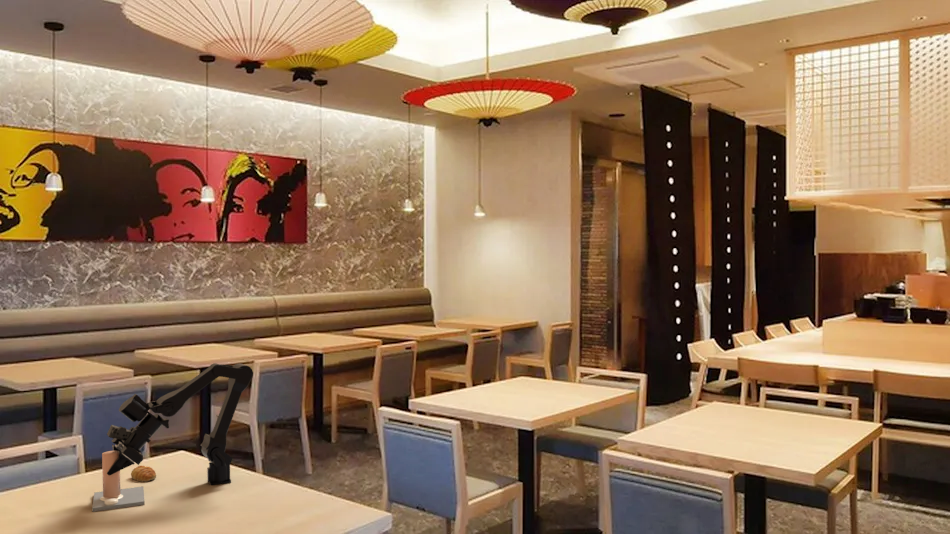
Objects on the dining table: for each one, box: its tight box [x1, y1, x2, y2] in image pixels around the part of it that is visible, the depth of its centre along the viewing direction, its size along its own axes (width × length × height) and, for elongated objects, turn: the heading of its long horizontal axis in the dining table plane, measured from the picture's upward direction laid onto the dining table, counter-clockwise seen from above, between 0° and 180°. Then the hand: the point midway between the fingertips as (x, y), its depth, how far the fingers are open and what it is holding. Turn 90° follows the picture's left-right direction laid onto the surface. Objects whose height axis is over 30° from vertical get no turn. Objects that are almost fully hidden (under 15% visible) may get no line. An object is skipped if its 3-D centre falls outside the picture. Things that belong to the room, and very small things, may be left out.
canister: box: [101, 450, 121, 498], centre depth 232 cm, size 5×5×13 cm
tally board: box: [91, 486, 145, 512], centre depth 233 cm, size 14×16×2 cm
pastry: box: [130, 465, 157, 482], centre depth 255 cm, size 9×7×4 cm
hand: (106, 472), depth 231 cm, fingers open, 5 cm apart
